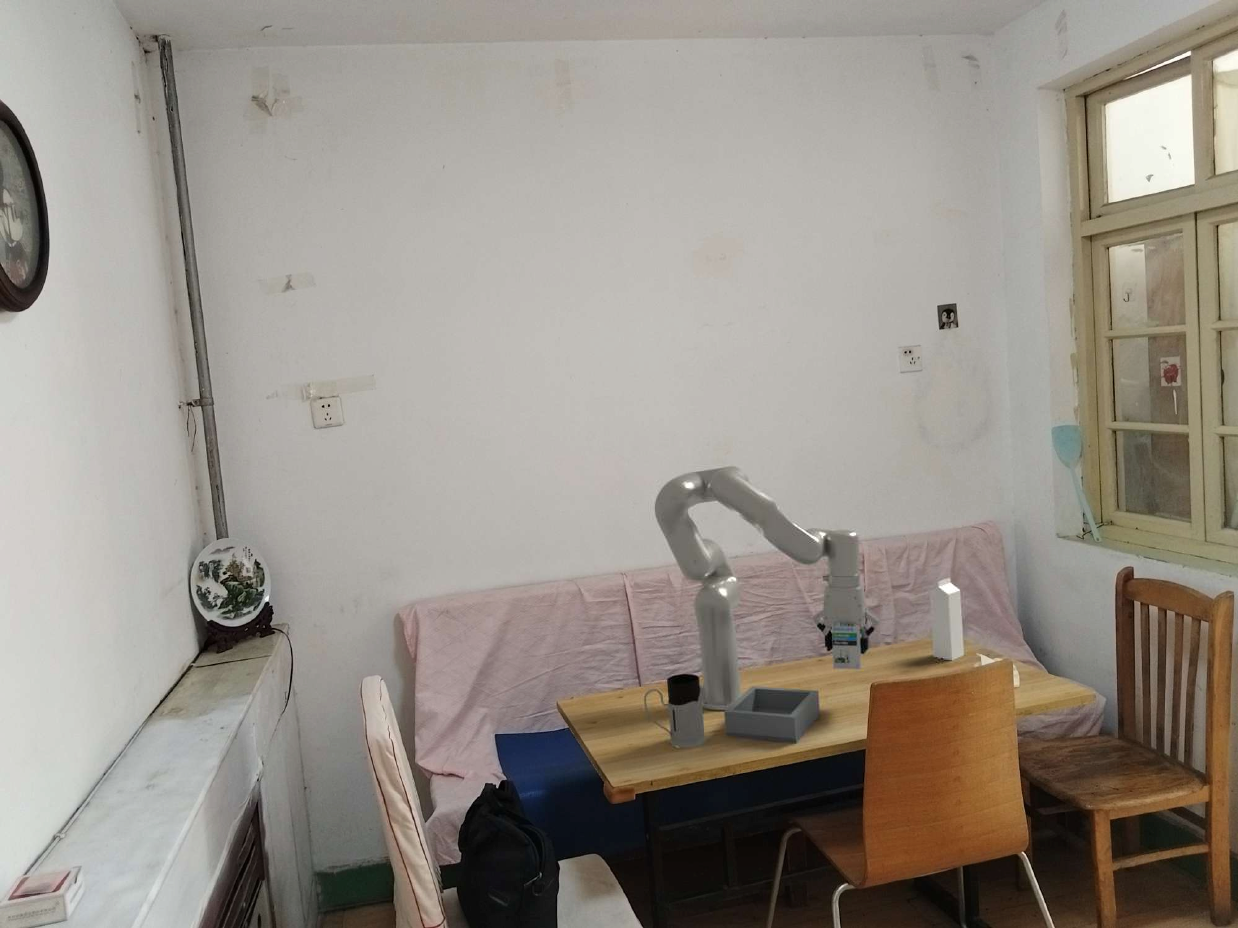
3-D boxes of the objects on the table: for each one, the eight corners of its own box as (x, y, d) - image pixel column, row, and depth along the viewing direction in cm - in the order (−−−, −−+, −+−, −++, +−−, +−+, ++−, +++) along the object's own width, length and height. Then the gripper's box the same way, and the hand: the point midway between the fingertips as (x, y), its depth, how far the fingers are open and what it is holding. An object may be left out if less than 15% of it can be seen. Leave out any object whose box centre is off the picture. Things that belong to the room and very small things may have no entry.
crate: (726, 736, 232) (724, 711, 232) (753, 709, 249) (752, 686, 248) (796, 743, 224) (794, 717, 224) (819, 714, 241) (818, 690, 240)
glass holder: (712, 743, 228) (707, 680, 227) (654, 755, 224) (648, 690, 223) (698, 731, 237) (693, 670, 235) (642, 742, 233) (637, 680, 231)
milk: (933, 657, 279) (928, 580, 277) (945, 652, 283) (940, 576, 281) (952, 660, 274) (947, 582, 272) (964, 655, 278) (959, 578, 276)
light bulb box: (861, 669, 237) (860, 626, 236) (832, 669, 239) (831, 625, 238) (860, 656, 248) (859, 614, 247) (833, 656, 249) (832, 614, 248)
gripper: (805, 582, 242) (807, 652, 244) (876, 586, 234) (878, 658, 236) (813, 576, 249) (816, 644, 250) (883, 579, 241) (886, 649, 242)
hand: (846, 650), depth 243 cm, fingers closed on light bulb box, 7 cm apart
